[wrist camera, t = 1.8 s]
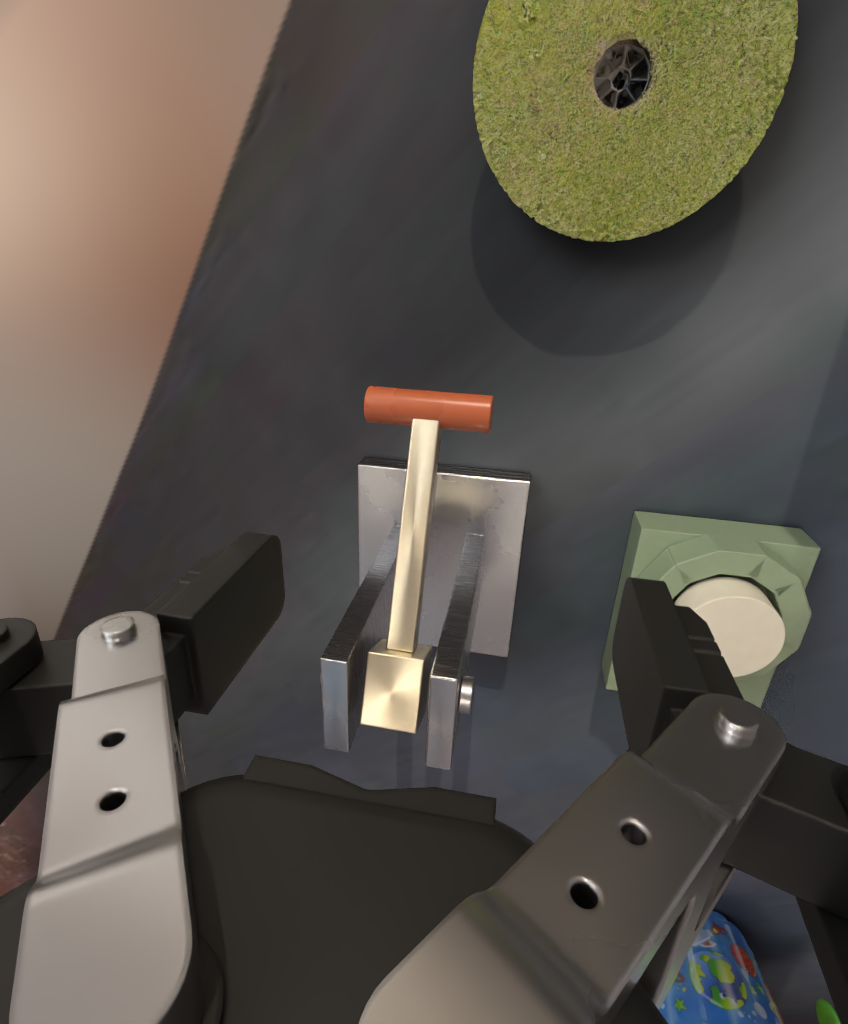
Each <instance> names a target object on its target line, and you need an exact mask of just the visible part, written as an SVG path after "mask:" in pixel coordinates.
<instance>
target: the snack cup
mask: <svg viewBox="0 0 848 1024" xmlns="http://www.w3.org/2000/svg"><path fill="white" fill-rule="evenodd" d="M659 1011H660V1013H661V1014H662V1015H663V1017H664V1018H665V1020H666V1021H667V1023H668V1024H784V1022H783V1020H782V1017H781V1015H780V1013H779V1011H778V1008H777V1006H776V1004H775V1002H774V999H773V997H772V995H771V993H770V990H769V988H768V986H767V984H766V982H765V980H764V978H763V976H762V974H761V972H760V969H759V967H758V965H757V963H756V961H755V958H754V955H753V952H752V951H751V949H750V948H749V946H748V944H747V942H746V940H745V938H744V936H743V935H742V933H741V932H740V930H739V929H738V928H737V927H736V926H735V925H734V924H732V923H731V922H729V921H727V920H726V918H725V917H724V916H723V915H722V914H720V913H718V912H715V911H712V912H711V914H710V916H709V917H708V919H707V921H706V922H705V924H704V926H703V928H702V929H701V931H700V933H699V934H698V936H697V938H696V939H695V941H694V943H693V945H692V946H691V948H690V950H689V952H688V954H687V956H686V958H685V960H684V962H683V964H682V966H681V968H680V970H679V972H678V974H677V976H676V978H675V980H674V983H673V985H672V987H671V988H670V990H669V992H668V994H667V996H666V998H665V1000H664V1002H663V1004H662V1005H661V1007H660V1009H659ZM816 1012H817V1017H818V1021H819V1024H841V1023H840V1020H839V1017H838V1015H837V1013H836V1011H835V1010H834V1009H833V1007H832V1006H831V1004H830V1003H829V1002H828V1001H827V1000H825V999H819V1000H818V1001H817V1004H816Z"/></svg>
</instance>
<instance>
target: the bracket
mask: <svg viewBox="0 0 848 1024" xmlns="http://www.w3.org/2000/svg"><path fill="white" fill-rule="evenodd" d="M407 462H408V461H402V460H392V459H382V458H372V457H364V458H363V460H362V461H361V462H360V463H359V464H358V555H359V589H358V591H357V593H356V595H355V597H354V599H353V600H352V602H351V604H350V606H349V608H348V609H347V611H346V613H345V615H344V617H343V619H342V620H341V622H340V624H339V626H338V628H337V630H336V631H335V633H334V635H333V637H332V639H331V640H330V642H329V644H328V646H327V648H326V650H325V651H324V653H323V655H322V657H321V676H320V686H321V689H322V703H323V725H324V747H325V748H327V749H332V750H338V751H343V752H349V750H350V747H351V745H352V742H353V739H354V737H355V734H356V732H357V729H358V726H359V724H360V717H361V708H362V699H363V690H364V682H365V673H366V664H367V656H368V651H369V650H371V649H372V648H373V647H374V646H375V645H376V644H377V643H378V642H379V641H380V640H382V639H386V640H387V636H388V628H389V619H390V610H391V601H392V593H393V584H394V575H395V566H396V558H397V549H398V540H399V531H400V523H401V514H402V505H403V497H404V488H405V479H406V470H407ZM530 477H531V475H530V473H523V472H513V471H503V470H493V469H483V468H473V467H463V466H452V465H442V464H438V468H437V477H436V486H435V495H434V503H433V512H432V521H431V530H430V538H429V547H428V556H427V565H426V574H425V582H424V591H423V600H422V609H421V617H420V626H419V635H418V644H420V645H427V646H434V647H437V651H436V654H435V658H434V662H433V666H432V670H431V674H430V684H429V701H428V719H427V736H426V754H425V765H426V766H428V767H433V768H439V769H444V770H450V769H451V764H452V758H453V753H454V747H455V741H456V735H457V729H458V723H459V717H460V713H465V714H470V713H471V709H472V702H473V694H474V684H475V677H471V676H466V675H467V669H468V663H469V658H470V652H474V653H481V654H487V655H494V656H501V657H508V654H509V646H510V638H511V630H512V622H513V615H514V607H515V599H516V591H517V583H518V576H519V568H520V560H521V552H522V544H523V537H524V529H525V521H526V513H527V505H528V498H529V490H530Z"/></svg>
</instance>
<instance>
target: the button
mask: <svg viewBox="0 0 848 1024" xmlns="http://www.w3.org/2000/svg"><path fill="white" fill-rule="evenodd" d="M674 604H675V605H677V606H686V607H690V608H691V609H692V610H693V611H694V612H695V613H697V614H698V615H699V616H700V617H701V618H702V619H703V620H704V621H706V622H707V624H708V626H709V628H710V630H711V632H712V634H713V637H714V639H715V640H714V641H715V642H716V643H717V645H718V647H719V649H720V651H721V656H723V657H724V659H725V661H726V663H727V665H728V667H729V669H730V671H731V673H732V676H733V677H739V676H744V675H748V674H751V673H754V672H756V671H758V670H760V669H762V668H764V667H765V666H767V665H768V664H770V663H771V662H772V661H773V660H774V659H775V658H776V657H777V656H778V654H779V653H780V651H781V649H782V647H783V644H784V641H785V627H784V623H783V621H782V619H781V617H780V616H779V614H778V613H777V611H776V610H775V608H774V607H773V605H772V604H771V603H770V601H769V600H768V598H767V597H766V595H765V594H764V593H763V592H762V591H761V590H760V589H759V588H758V587H756V586H755V585H753V584H752V583H750V582H747V581H745V580H742V579H738V578H733V577H715V578H710V579H706V580H703V581H700V582H698V583H696V584H694V585H692V586H690V587H689V588H687V589H686V590H685V591H684V592H683V593H682V594H681V595H680V596H679V597H678V598H677V600H676V601H675V603H674Z"/></svg>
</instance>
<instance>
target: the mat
mask: <svg viewBox="0 0 848 1024" xmlns="http://www.w3.org/2000/svg"><path fill="white" fill-rule="evenodd" d="M797 25H798V5H797V0H489V2H488V5H487V7H486V11H485V14H484V16H483V21H482V24H481V28H480V32H479V36H478V40H477V45H476V52H475V59H474V70H473V103H474V112H475V113H476V115H475V119H476V124H477V130H478V132H479V136H480V141H481V143H482V149H483V151H484V153H485V156H486V159H487V162H488V164H489V166H490V168H491V170H492V172H493V173H494V174H495V176H496V178H497V180H498V182H499V184H500V185H501V186H502V187H503V189H504V191H505V192H507V193H508V196H509V197H510V198H511V200H512V201H513V202H514V203H515V204H516V205H517V206H518V207H520V208H522V209H523V211H524V213H527V214H528V215H529V217H530V218H532V217H534V219H535V221H536V222H538V223H539V224H541V225H545V226H546V227H547V228H548V229H552V230H554V231H556V232H558V233H561V234H564V235H566V236H570V237H572V238H580V239H582V240H585V241H592V242H593V241H594V240H596V241H600V242H602V241H607V242H614V241H617V240H630V239H633V238H636V237H641V236H647V235H649V234H651V233H653V232H656V231H661V230H662V229H664V228H668V227H670V226H672V225H674V224H675V223H676V222H679V221H681V220H683V219H684V218H686V217H687V216H689V215H691V214H692V213H694V212H696V211H697V210H698V209H699V208H700V207H702V206H703V205H704V204H706V203H707V202H708V201H709V200H710V199H712V198H713V197H714V196H715V195H716V194H718V193H719V192H720V191H721V190H722V189H723V188H724V187H725V186H726V185H727V184H728V183H729V182H731V181H732V179H733V177H735V176H736V175H737V174H738V172H739V171H740V169H741V168H742V167H744V165H745V164H746V163H747V162H748V160H749V158H750V156H751V155H752V154H753V152H754V150H755V149H756V148H757V146H758V145H759V144H760V142H761V140H762V139H763V137H764V135H765V133H766V130H765V129H767V128H769V126H770V124H771V122H772V119H773V116H774V114H775V112H776V109H777V107H778V106H779V104H780V102H781V99H782V97H783V94H784V87H785V85H786V84H787V82H788V76H789V72H790V70H791V65H792V63H793V60H794V52H795V40H797V39H798V37H797V35H796V30H797Z"/></svg>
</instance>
